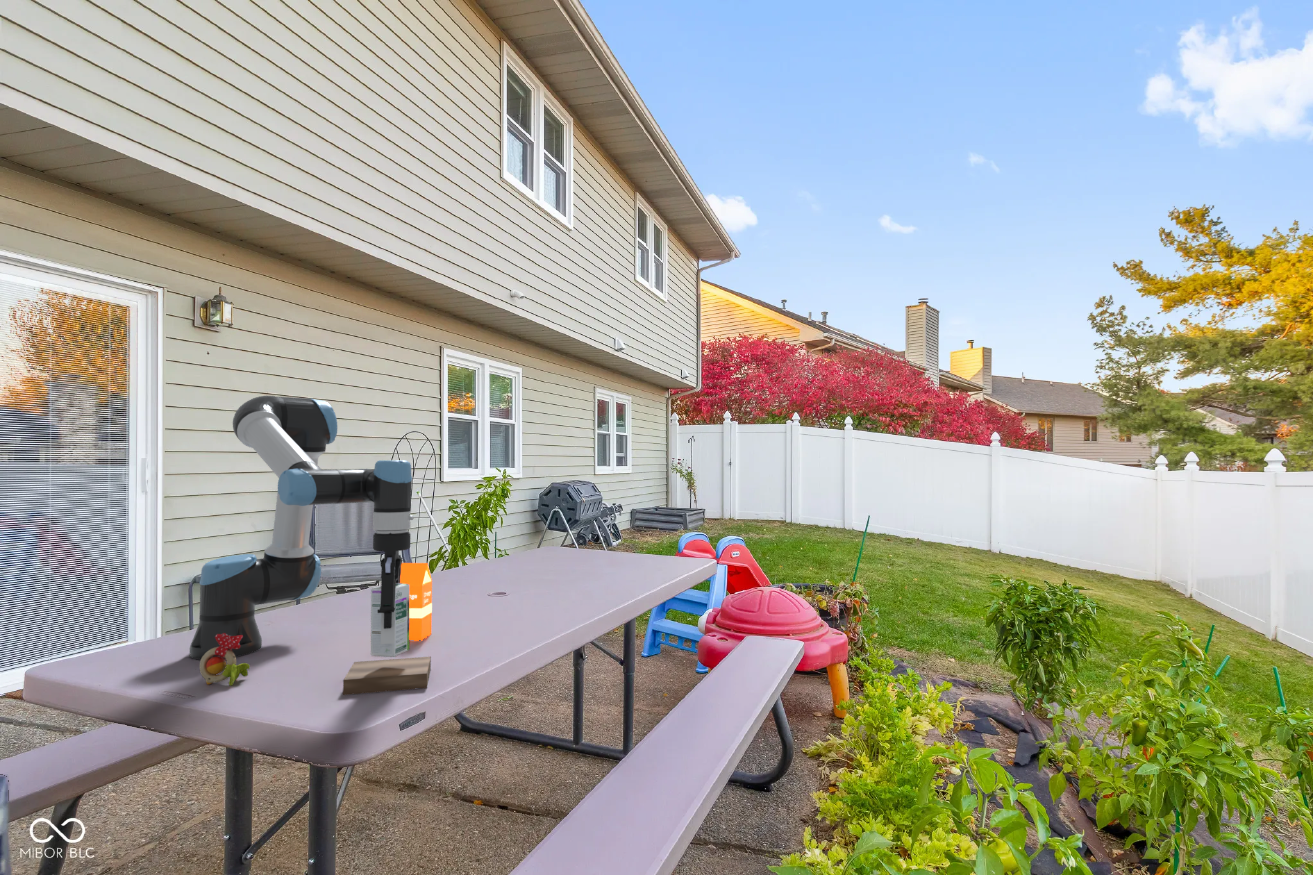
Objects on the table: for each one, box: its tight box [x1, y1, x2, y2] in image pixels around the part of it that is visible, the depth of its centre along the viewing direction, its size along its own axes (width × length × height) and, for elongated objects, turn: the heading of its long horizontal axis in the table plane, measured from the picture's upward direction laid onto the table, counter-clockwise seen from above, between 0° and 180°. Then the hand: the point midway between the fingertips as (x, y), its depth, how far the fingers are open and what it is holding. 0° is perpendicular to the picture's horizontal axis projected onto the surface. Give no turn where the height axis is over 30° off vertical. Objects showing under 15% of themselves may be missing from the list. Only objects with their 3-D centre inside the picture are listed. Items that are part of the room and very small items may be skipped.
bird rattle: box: [199, 633, 251, 687], centre depth 142 cm, size 6×11×9 cm
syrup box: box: [370, 583, 410, 658], centre depth 143 cm, size 6×6×14 cm
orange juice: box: [400, 562, 433, 642], centre depth 181 cm, size 8×9×20 cm
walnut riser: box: [342, 656, 432, 696], centre depth 143 cm, size 13×16×3 cm
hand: (390, 638), depth 143 cm, fingers closed on syrup box, 7 cm apart
